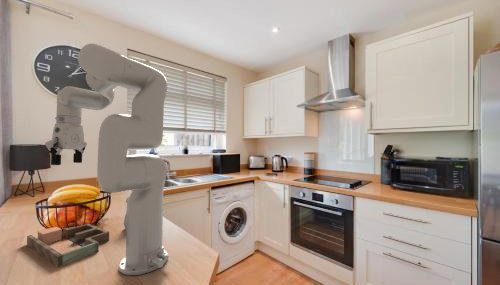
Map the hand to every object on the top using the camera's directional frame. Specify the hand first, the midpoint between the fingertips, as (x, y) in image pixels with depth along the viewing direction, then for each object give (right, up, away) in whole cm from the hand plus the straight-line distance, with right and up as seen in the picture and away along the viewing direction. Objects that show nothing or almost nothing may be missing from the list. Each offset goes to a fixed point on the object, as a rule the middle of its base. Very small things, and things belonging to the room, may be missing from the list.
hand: (67, 163), depth 82 cm
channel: (+12, -27, -11) cm, 31 cm away
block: (+1, -27, -8) cm, 28 cm away
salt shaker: (+24, -28, +4) cm, 37 cm away
